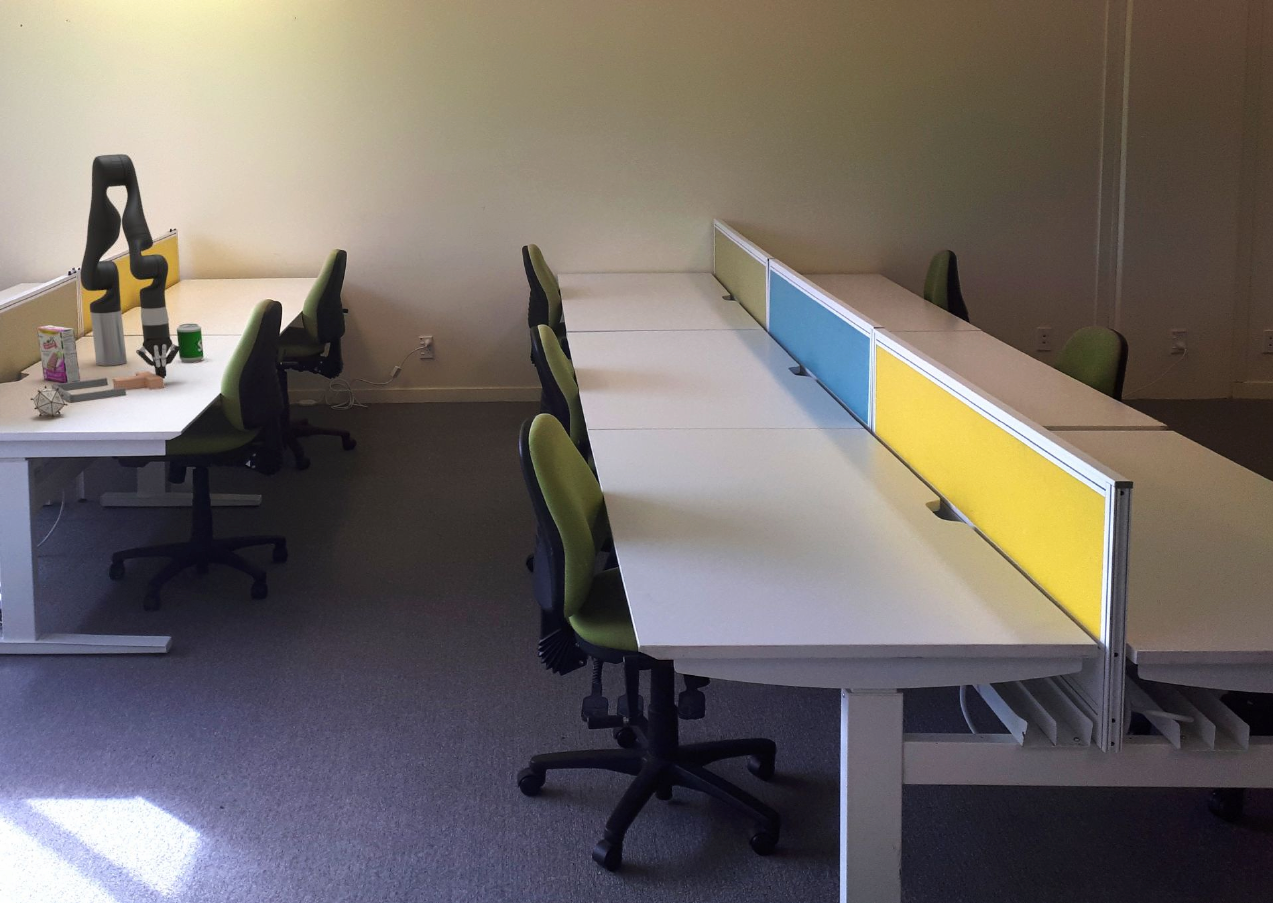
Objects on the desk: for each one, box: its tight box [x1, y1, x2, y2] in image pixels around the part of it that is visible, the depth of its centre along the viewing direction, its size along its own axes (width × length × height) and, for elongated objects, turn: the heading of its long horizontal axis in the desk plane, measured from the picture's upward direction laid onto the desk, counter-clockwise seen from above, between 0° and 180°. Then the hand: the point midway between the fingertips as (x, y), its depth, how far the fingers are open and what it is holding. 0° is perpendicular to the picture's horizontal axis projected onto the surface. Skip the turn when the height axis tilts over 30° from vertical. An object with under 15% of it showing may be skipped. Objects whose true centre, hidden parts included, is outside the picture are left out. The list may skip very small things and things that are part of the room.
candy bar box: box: [36, 324, 81, 384], centre depth 371 cm, size 11×5×16 cm, turn 62°
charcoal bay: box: [51, 377, 127, 403], centre depth 357 cm, size 18×16×2 cm
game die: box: [30, 385, 69, 419], centre depth 330 cm, size 9×8×10 cm
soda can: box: [176, 323, 204, 364], centre depth 401 cm, size 8×8×12 cm
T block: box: [112, 371, 165, 391], centre depth 365 cm, size 12×12×3 cm
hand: (161, 378), depth 370 cm, fingers closed
